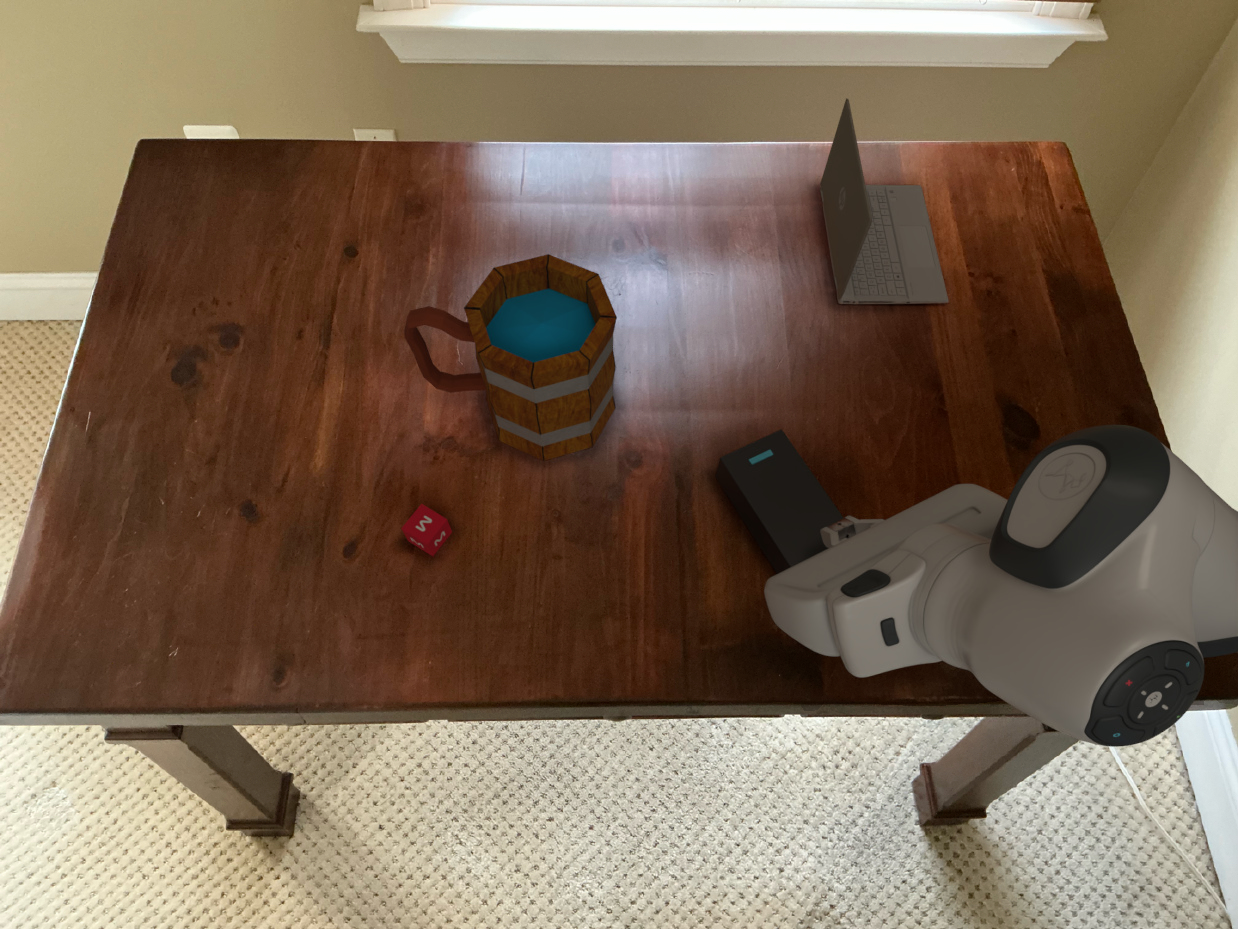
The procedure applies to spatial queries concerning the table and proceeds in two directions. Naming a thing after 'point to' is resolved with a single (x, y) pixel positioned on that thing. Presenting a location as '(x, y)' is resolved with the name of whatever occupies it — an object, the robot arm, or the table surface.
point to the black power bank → (778, 499)
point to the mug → (533, 353)
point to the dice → (427, 530)
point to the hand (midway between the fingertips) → (835, 529)
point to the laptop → (876, 232)
